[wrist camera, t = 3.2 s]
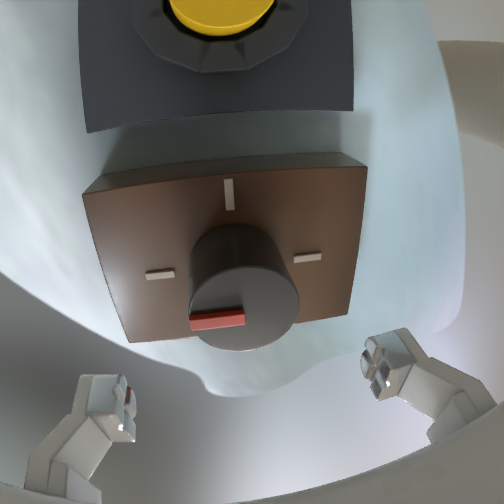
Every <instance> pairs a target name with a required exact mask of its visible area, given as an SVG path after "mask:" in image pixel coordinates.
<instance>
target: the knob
mask: <svg viewBox="0 0 504 504" xmlns="http://www.w3.org/2000/svg"><path fill="white" fill-rule="evenodd" d="M299 305H300V299H299V294H298V291H297V288H296V286H295V284H294V282H293V280H292V278H291V275H290V273H289V271H288V269H287V267H286V265H285V263H284V261H283V258H282V256H281V254H280V252H279V250H278V248H277V246H276V244H275V242H274V241H273V240H272V239H271V238H270V237H269V236H268V235H267V234H266V233H264V232H263V231H261V230H259V229H257V228H254V227H251V226H247V225H227V226H223V227H220V228H217V229H215V230H213V231H211V232H209V233H208V234H206V235H205V236H204V237H202V238H201V239H200V240H199V241H198V243H197V244H196V245H195V247H194V248H193V250H192V252H191V255H190V258H189V263H188V318H189V324H190V328H191V331H193V330H194V332H195V333H196V335H197V336H198V337H199V338H200V339H202V340H203V341H204V342H206V343H207V344H209V345H211V346H213V347H216V348H219V349H222V350H227V351H249V350H254V349H258V348H261V347H264V346H266V345H269V344H271V343H273V342H274V341H276V340H277V339H279V338H280V337H281V336H283V335H284V334H285V333H286V332H287V331H288V330H289V329H290V327H291V326H292V325H293V323H294V322H295V320H296V317H297V315H298V311H299Z"/></svg>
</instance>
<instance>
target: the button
mask: <svg viewBox="0 0 504 504" xmlns="http://www.w3.org/2000/svg"><path fill="white" fill-rule="evenodd" d="M169 1H170V4H171V7H172V10H173V12H174V14H175V16H176V17H177V19H178V20H179V21H180V22H181V23H182V24H183V25H185V26H186V27H187V28H189V29H191V30H193V31H195V32H197V33H200V34H204V35H208V36H227V35H232V34H236V33H239V32H241V31H243V30H246V29H247V28H249V27H250V26H252V25H253V24H254V23H255V22H256V21H257V20H258V19H259V18H260V17H261V16H262V15H263V14H264V13H265V12H266V11H267V10H268V9H269V8H270V6H271V5H272V3H273V1H274V0H169Z"/></svg>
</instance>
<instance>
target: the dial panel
mask: <svg viewBox="0 0 504 504" xmlns="http://www.w3.org/2000/svg"><path fill="white" fill-rule="evenodd" d="M367 169H368V167H367V166H366V165H364V164H362V163H360V162H358V161H357V160H355V159H353V158H351V157H349V156H348V155H346V154H344V153H342V152H329V153H295V154H274V155H258V156H245V157H232V158H221V159H211V160H201V161H192V162H184V163H176V164H168V165H161V166H154V167H147V168H140V169H134V170H128V171H122V172H116V173H110V174H105V175H100V176H99V177H98V178H97V179H96V180H95V181H94V182H93V183H92V184H91V185H90V186H89V187H88V188H87V189H86V190H85V192H84V193H83V194H82V198H83V202H84V206H85V210H86V214H87V218H88V222H89V226H90V230H91V233H92V237H93V241H94V244H95V247H96V251H97V254H98V258H99V261H100V264H101V267H102V270H103V273H104V276H105V280H106V283H107V285H108V288H109V291H110V294H111V297H112V300H113V303H114V305H115V308H116V311H117V313H118V316H119V319H120V321H121V324H122V327H123V329H124V332H125V334H126V337H127V339H128V341H129V343H137V342H151V341H163V340H174V339H184V338H194V337H198V336H197V335H196V333H195V332H194V330H193V331H191V328H190V324H189V318H188V263H189V258H190V255H191V252H192V250H193V248H194V247H195V245H196V244H197V243H198V241H199V240H200V239H201V238H202V237H204V236H205V235H206V234H208V233H209V232H211V231H213V230H215V229H217V228H220V227H223V226H227V225H247V226H251V227H254V228H257V229H259V230H261V231H263V232H264V233H266V234H267V235H268V236H269V237H270V238H271V239H272V240H273V241H274V242H275V244H276V246H277V248H278V250H279V252H280V254H281V256H282V258H283V261H284V263H285V265H286V267H287V269H288V271H289V273H290V275H291V278H292V280H293V282H294V284H295V286H296V288H297V291H298V294H299V299H300V305H299V311H298V315H297V317H296V320H295V322H294V323H293V324H297V323H303V322H309V321H315V320H320V319H326V318H331V317H337V316H342V315H347V314H348V308H349V303H350V298H351V292H352V287H353V281H354V275H355V269H356V262H357V256H358V249H359V242H360V234H361V227H362V219H363V210H364V201H365V191H366V181H367Z"/></svg>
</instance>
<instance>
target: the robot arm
mask: <svg viewBox="0 0 504 504" xmlns="http://www.w3.org/2000/svg"><path fill="white" fill-rule="evenodd" d="M365 347H366V350H365V351H364V352H363V353H362V356H361V360H360V362H361V369H362V372H363V375H364V377H365V378H366V379H368V380H369V381H371V386H370V388H371V390H372V392H373V394H374V396H375V398H376V399H377V401H381V400H384V399H387V398H390V397H393V396H396V395H398V397H400V398H401V399H402V400H404V401H405V402H407V403H408V404H410V405H411V406H412V407H414V408H415V409H417V410H418V411H420V412H421V413H422V414H424V415H425V416H427V417H428V418H430V419H431V420H433V421H434V423H433V424H432V425H431V427H430V428H429V429H428V431H427V433H426V434H427V436H428V438H429V440H430V442H431V444H430V445H428V446H426V447H424V448H422V449H419V450H417V451H416V452H413V453H411V454H409V455H406V456H404V457H402V458H399V459H398V460H395V461H392V462H390V463H388V464H385V465H382V466H380V467H377V468H375V469H372V470H369V471H366V472H364V473H361V474H358V475H355V476H352V477H349V478H346V479H343V480H339V481H336V482H332V483H329V484H326V485H322V486H319V487H314V488H311V489H307V490H303V491H298V492H294V493H289V494H285V495H280V496H274V497H269V498H263V499H258V500H252V501H244V502H236V503H228V504H504V401H503V402H501V403H500V404H498V405H497V403H496V402H495V401H494V399H493V398H492V396H491V395H490V393H489V392H488V391H487V389H486V388H485V386H484V385H483V383H482V382H481V381H480V380H478V379H476V378H474V377H472V376H470V375H468V374H466V373H463V372H462V371H460V370H457V369H455V368H453V367H451V366H449V365H447V364H445V363H443V362H441V361H439V360H437V359H435V358H433V357H430V358H428V356H427V355H426V354H425V352H424V351H423V350H422V348H421V347H420V345H419V344H418V343H417V341H416V340H415V339H414V337H413V336H412V334H411V333H410V332H409V330H408V329H406V328H401V329H398V330H394V331H390V332H386V333H383V334H379V335H376V336H372V337H368V339H367V340H366V342H365ZM135 415H136V399H135V395H134V393H133V391H132V389H131V388H129V387H128V386H127V379H126V378H125V376H124V375H81V377H80V378H79V381H78V385H77V389H76V393H75V398H74V403H73V407H72V412H71V414H67V415H66V416H65V417H64V418H63V420H62V421H61V422H60V423H59V424H58V425H57V426H56V427H55V428H54V429H53V431H51V433H50V434H49V435H48V436H47V437H46V438H45V439H44V440H43V441H42V443H41V444H40V445H39V446H38V447H37V448H36V449H35V450H34V451H33V452H32V453H31V455H30V456H29V460H28V465H27V471H26V477H25V483H24V489H22V488H19V487H15V486H12V485H8V484H5V483H2V482H0V504H101V491H100V490H99V489H98V488H97V487H96V486H94V485H93V484H91V483H90V482H89V481H88V480H89V478H90V477H91V475H92V474H93V472H94V471H95V469H96V468H97V466H98V464H99V463H100V461H101V460H102V458H103V457H104V455H105V454H106V452H107V451H108V449H109V448H110V446H111V445H112V442H135V427H136V426H135V424H134V422H133V421H132V419H133V418H134V416H135Z"/></svg>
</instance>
